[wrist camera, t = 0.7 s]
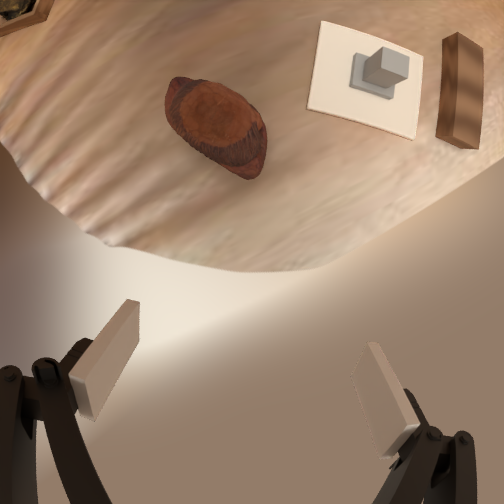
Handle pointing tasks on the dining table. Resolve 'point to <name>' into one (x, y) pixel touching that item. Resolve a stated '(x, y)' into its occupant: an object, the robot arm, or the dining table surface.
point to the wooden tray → (28, 17)
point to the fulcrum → (366, 80)
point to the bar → (461, 92)
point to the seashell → (14, 8)
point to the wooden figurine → (218, 124)
